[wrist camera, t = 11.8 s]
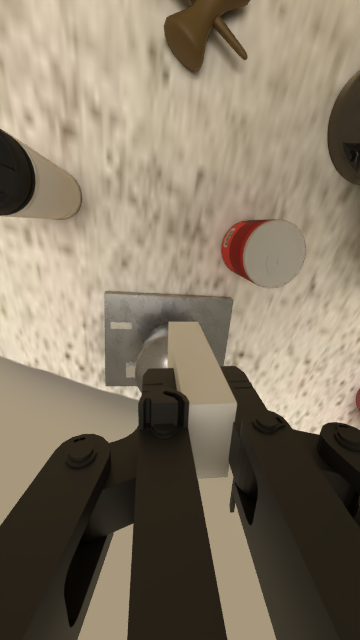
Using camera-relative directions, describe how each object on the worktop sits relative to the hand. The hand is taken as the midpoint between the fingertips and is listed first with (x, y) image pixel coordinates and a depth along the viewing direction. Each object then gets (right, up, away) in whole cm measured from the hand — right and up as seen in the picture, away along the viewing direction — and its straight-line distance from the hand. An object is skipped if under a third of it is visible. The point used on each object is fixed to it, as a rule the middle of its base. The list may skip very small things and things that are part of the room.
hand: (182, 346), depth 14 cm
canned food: (+10, +13, +28) cm, 33 cm away
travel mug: (-17, +18, +23) cm, 34 cm away
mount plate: (-2, -2, +32) cm, 32 cm away
